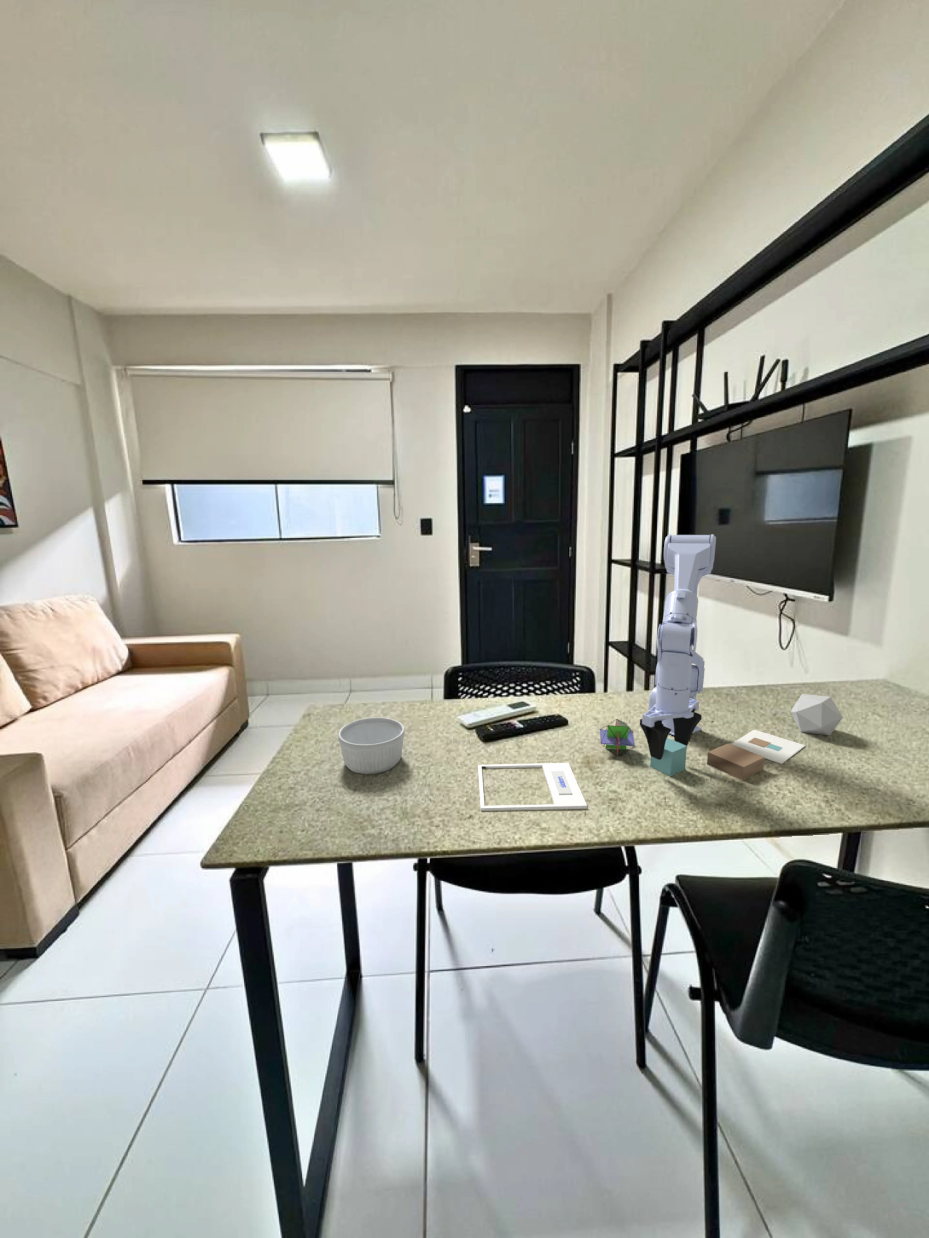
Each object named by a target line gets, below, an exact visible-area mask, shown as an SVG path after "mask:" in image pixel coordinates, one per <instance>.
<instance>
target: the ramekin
mask: <svg viewBox="0 0 929 1238" xmlns="http://www.w3.org/2000/svg"><path fill="white" fill-rule="evenodd" d="M337 736H338V739H337V740H338V743H339V745H340V751H341V755H342V760H343V762H344V765H345V767H347V768H348V769H349V770H350V771H352V772H353V773H356V774H362V775H372V774H373V775H374V774H375V775H376V774H380V773H384V772H386V771H388V770H391V769H392V768H394V767H395V766H396V765H397V764H398V763H399V762H400V760H401V757H402V754H403V753H402V752H403V744H404V739H405V727H404V724H402V722H400V721H399V720H396V719H393V718H389V717H380V716H379V717H377V716H376V717H375V716H373V717H364V718H361V719H357V720H353V721H351V722H349V723H347V724H345V725H343V726H342V727H341V728H340V729H339V730H338V734H337Z"/></svg>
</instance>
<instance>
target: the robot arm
mask: <svg viewBox="0 0 929 1238" xmlns="http://www.w3.org/2000/svg"><path fill="white" fill-rule="evenodd" d="M716 543H717V536H715V534H714V533H713V534H671V533H670V534H667V536H666V537H665V540H664V547H663V562H664V567H665V569H666V573H668V574H670V575H673V577H674V579H673V581H674V583H673V584H674V585H673V591H671V592H669V593H668V594H667V595H666V598H665V605H664V611H663V617H662V618H663V619H662V623H659V626H658V628H657V635H656V649H657V664H656V668H655V678H654V679H655V680H654V683H655V686H654V687H653V689H652V690H651V691H650V694H649V698H648V711H647V712H644V713H643V714H642V718H641V719H639V727H640V728H641V730H642V731H643V732H642V733H644V735H645V738H646V741H647V742H646V743H647V745H648V750H649V756H650V757H651V756H652V757H654V758H656V759H658V760H660V759H662V757H663V753H664V747H665V742H666V739H667V738H669V735H672V736H673V740H674V741H676V742H679V743H681V744H683V745H686V746H687V747H688V745H689V743H690V741H691V738H692V735H693V734H694V733H697V732H699V731H702V727H700V726H698V725H699V723H700V722H701V721H702V717H703V715H702V714H701V713H699V712H697V711H699V709H700V700H697V694H701V693H703V691H704V680H705V670H706V669H705V660H704V657H702V656H701V654H699V653H697V652H696V651H697V643H698V623H697V622H698V621H697V620H698V619H697V617H698V606H699V605H698V604H699V597H698V588H699V584H700V582H701V580H702V578H703V577H705V576H708V575H710V574H712V571H713V568H714V563H715V555H716V554H715V553H716V545H717V544H716Z"/></svg>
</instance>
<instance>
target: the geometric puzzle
mask: <svg viewBox="0 0 929 1238" xmlns="http://www.w3.org/2000/svg"><path fill="white" fill-rule="evenodd" d="M614 721H615V725H611V724H612V723H613V722H614ZM605 727H606V729H604V728H605ZM599 733H600V734H599V737H600V745H603V746H604V748H605V749H606V750H608V749H611V750H613V749H614V750H616V754H614V753H613V755H614V756H616V758H619V750H623V751H622V752H621V753H620V756H622V755H623V754H624V753H626V752H628V750H627V747H630V750H632V749H633V748H636V745H635V744H636V743H635V737H634V736H635V735H634V730H633V729H631V727H630V726H629V725H628V724H627V722H625V721H622V720H621V719H618V718H616V719H614V720H613V721H611V722H610V723H607V724H606V725H604V726H603V727H602V728H599ZM611 750H609V752H610V753H612V751H611ZM626 750H627V751H626Z"/></svg>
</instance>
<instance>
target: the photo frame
mask: <svg viewBox="0 0 929 1238" xmlns="http://www.w3.org/2000/svg"><path fill="white" fill-rule="evenodd" d="M483 768H485V769H517V768H518V769H520V768H521V769H524V768H525V769H526V768H528V769H529V768H531V769H532V768H542V771H543V774H544V778H545V780H546V784H547V786H548V790H549V793H550V796H551V799H552V802H553V804H552V803H549V804H546V803H545V804H506V805H485V795H484V783H483ZM477 773H478V787H479V803H480V811H482V812H483V811H486V812H488V811H492V812H493V811H529V810H530V811H533V810H534V811H536V810H537V811H538V810H541V811H542V810H583V809H584V810H587V809H588V804H587V802H586V800H585V797H584V796H583V793H582V791H581V788H580V786H579V784H578V782H577V779H576V777H575V775H574V773H573V771H572V768H571V765H570V763H569V762H546V763H545V762H542V763H541V762H540V763H539V762H537V763H504V764H503V763H501V764H500V763H499V764H498V763H497V764H495V763H493V764H477Z"/></svg>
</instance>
